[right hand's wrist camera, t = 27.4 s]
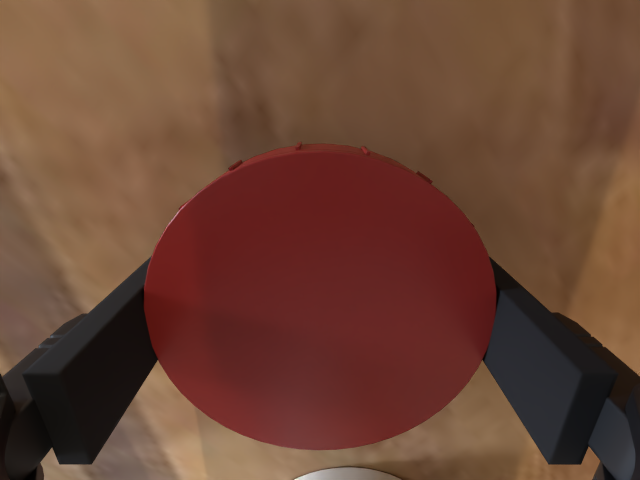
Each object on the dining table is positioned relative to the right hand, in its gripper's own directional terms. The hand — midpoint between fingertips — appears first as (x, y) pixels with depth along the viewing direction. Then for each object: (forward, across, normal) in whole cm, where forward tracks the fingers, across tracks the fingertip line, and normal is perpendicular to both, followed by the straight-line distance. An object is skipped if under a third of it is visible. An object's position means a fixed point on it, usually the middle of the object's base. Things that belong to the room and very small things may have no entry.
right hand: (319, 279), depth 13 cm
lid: (-3, 0, 0) cm, 3 cm away
